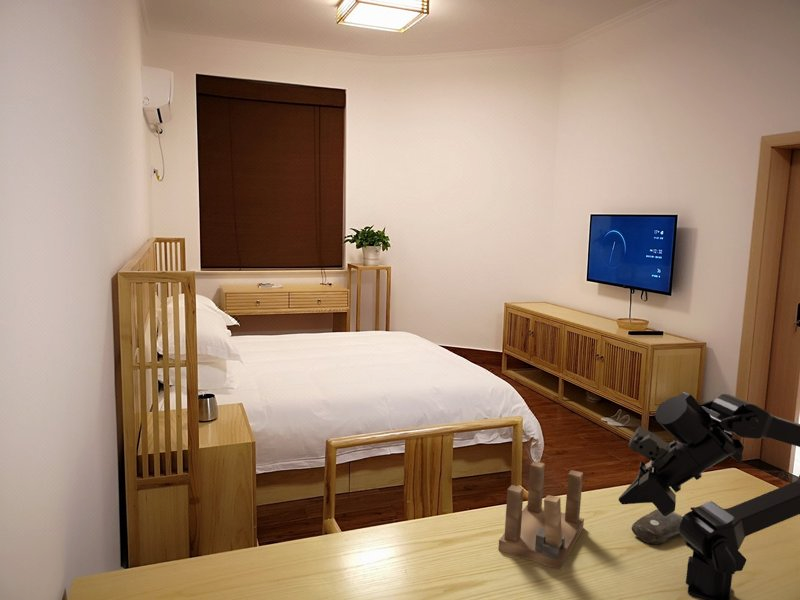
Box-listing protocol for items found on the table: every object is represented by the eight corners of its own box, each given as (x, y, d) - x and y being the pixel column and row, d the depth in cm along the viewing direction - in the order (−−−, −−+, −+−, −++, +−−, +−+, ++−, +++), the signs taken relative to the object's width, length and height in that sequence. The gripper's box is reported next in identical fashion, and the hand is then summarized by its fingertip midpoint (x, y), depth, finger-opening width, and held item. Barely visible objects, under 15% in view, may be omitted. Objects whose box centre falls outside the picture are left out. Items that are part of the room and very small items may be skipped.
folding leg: (562, 548, 112) (560, 496, 111) (558, 555, 109) (556, 502, 109) (549, 545, 113) (547, 494, 112) (545, 552, 111) (543, 500, 110)
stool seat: (583, 527, 124) (587, 472, 123) (559, 571, 108) (564, 508, 107) (527, 512, 130) (531, 459, 129) (497, 551, 114) (500, 491, 113)
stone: (644, 533, 117) (616, 510, 127) (645, 554, 118) (617, 529, 128) (705, 519, 120) (673, 498, 130) (706, 540, 120) (674, 517, 130)
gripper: (662, 402, 111) (596, 448, 117) (659, 433, 94) (582, 484, 100) (705, 451, 109) (635, 494, 115) (709, 491, 92) (627, 540, 98)
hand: (620, 501), depth 107 cm, fingers closed
